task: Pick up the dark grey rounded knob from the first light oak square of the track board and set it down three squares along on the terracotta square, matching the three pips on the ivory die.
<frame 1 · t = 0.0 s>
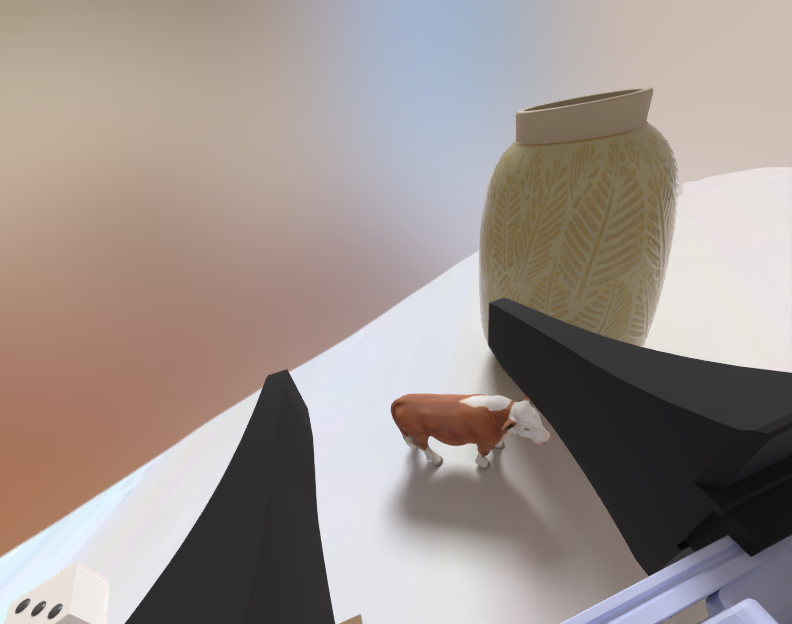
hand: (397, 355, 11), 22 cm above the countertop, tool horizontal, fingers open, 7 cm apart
bull figurine: (468, 454, 31), on the countertop
vase: (552, 354, 40), on the countertop
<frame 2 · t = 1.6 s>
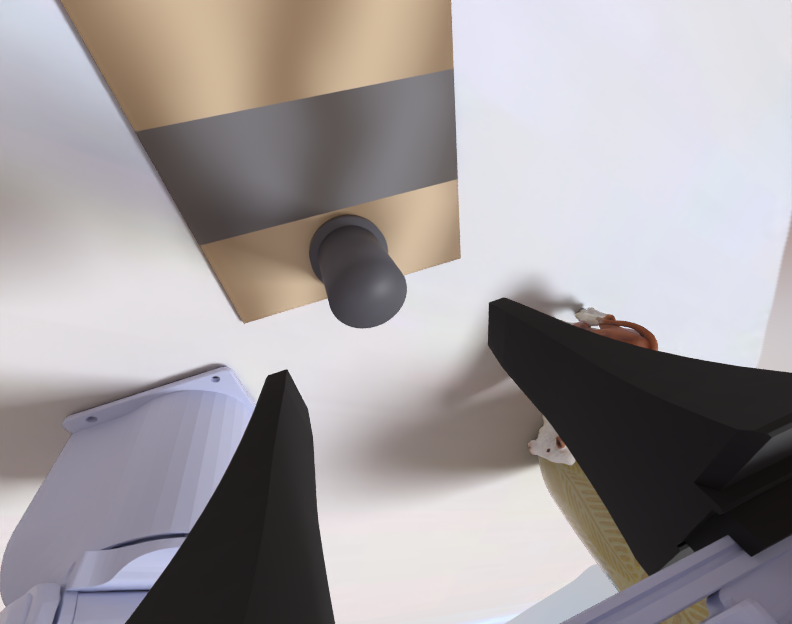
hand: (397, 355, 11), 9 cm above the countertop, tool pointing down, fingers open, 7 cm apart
bull figurine: (540, 351, 30), on the countertop
vase: (580, 421, 41), on the countertop
track board: (306, 97, 14), on the countertop
dark grey rounded knob: (348, 252, 18), resting on track board
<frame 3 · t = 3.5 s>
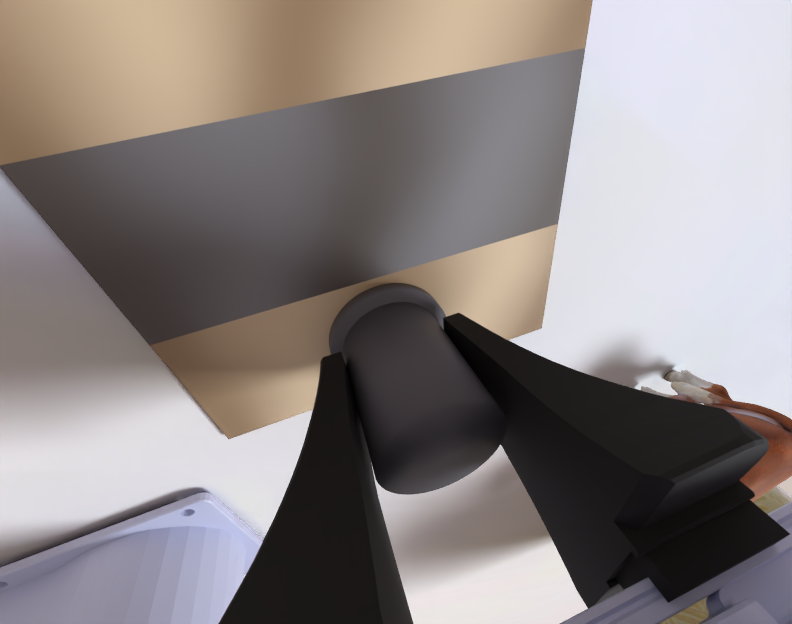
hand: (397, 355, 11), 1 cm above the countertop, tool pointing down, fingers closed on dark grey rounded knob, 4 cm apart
bull figurine: (611, 419, 24), on the countertop
vase: (636, 481, 34), on the countertop
track board: (333, 98, 8), on the countertop
dark grey rounded knob: (387, 334, 12), resting on track board, touching gripper
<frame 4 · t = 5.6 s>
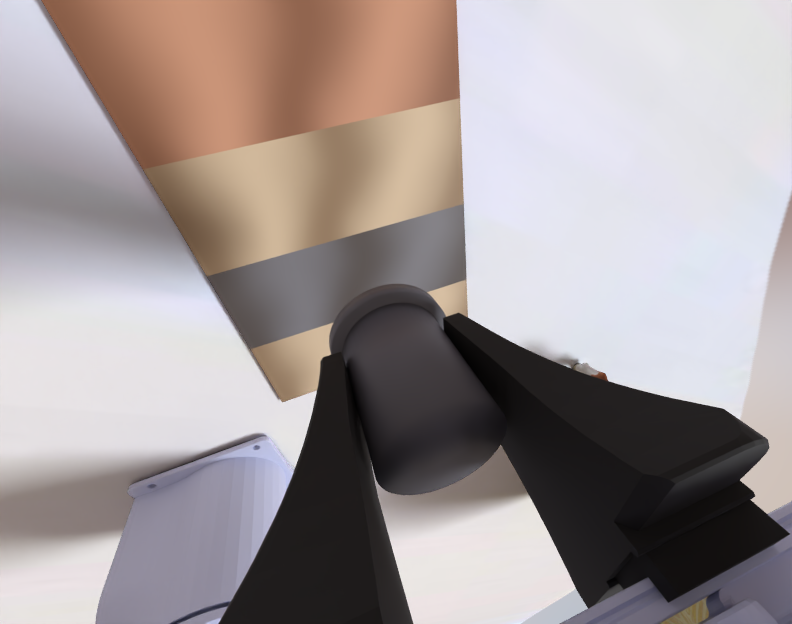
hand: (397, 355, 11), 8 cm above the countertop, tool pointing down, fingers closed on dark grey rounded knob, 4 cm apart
vase: (578, 452, 43), on the countertop
track board: (342, 236, 17), on the countertop
dark grey rounded knob: (388, 335, 12), point 7 cm above the countertop, touching gripper
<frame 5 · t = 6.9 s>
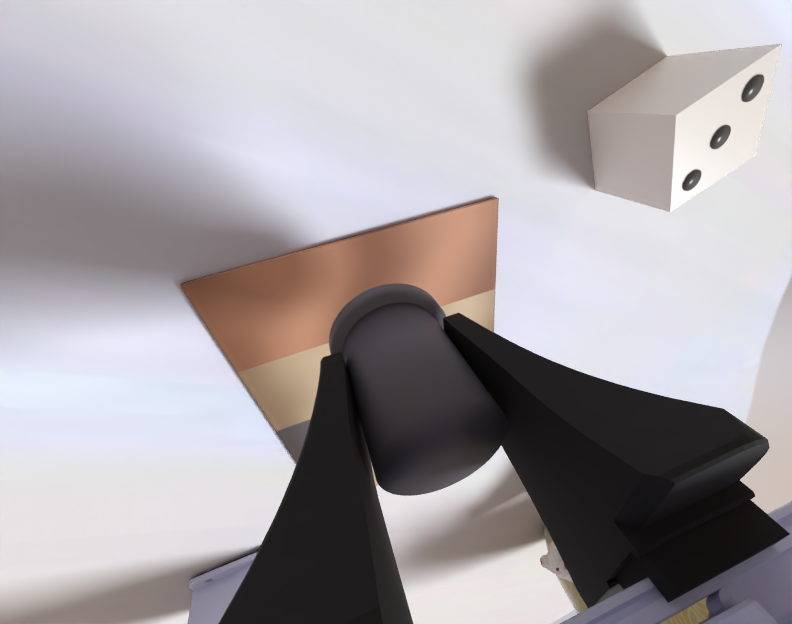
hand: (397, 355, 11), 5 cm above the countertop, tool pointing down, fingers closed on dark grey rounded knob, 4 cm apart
bull figurine: (549, 471, 36), on the countertop
vase: (582, 505, 46), on the countertop
track board: (389, 387, 20), on the countertop
die: (626, 129, 15), on the countertop
dark grey rounded knob: (388, 335, 12), point 4 cm above the countertop, touching gripper
when the fingers open (3 cm above the countertop, at t = 7.7 s): dark grey rounded knob drops 2 cm, resting on track board.
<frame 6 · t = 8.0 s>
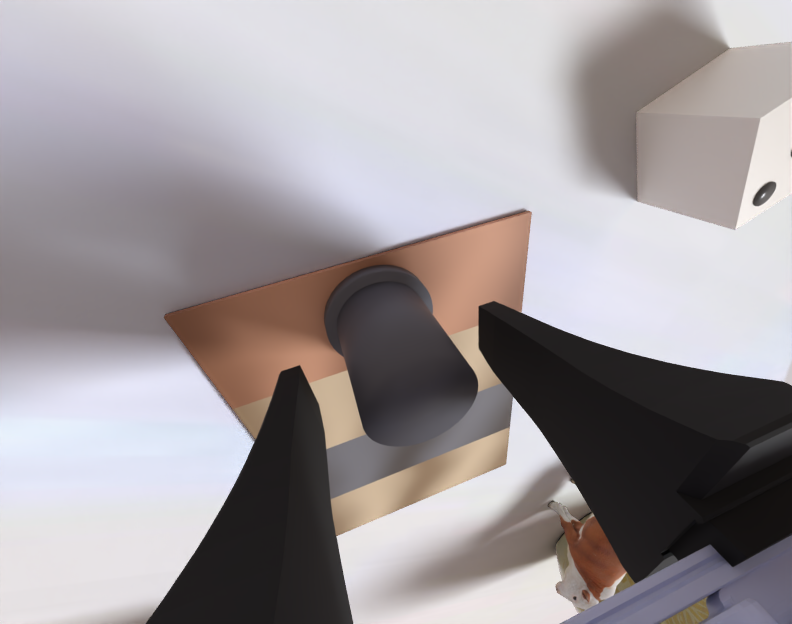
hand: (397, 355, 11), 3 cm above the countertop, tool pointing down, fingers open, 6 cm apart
bull figurine: (564, 491, 34), on the countertop
vase: (595, 521, 44), on the countertop
track board: (402, 417, 18), on the countertop
die: (677, 132, 13), on the countertop
dark grey rounded knob: (378, 313, 13), resting on track board
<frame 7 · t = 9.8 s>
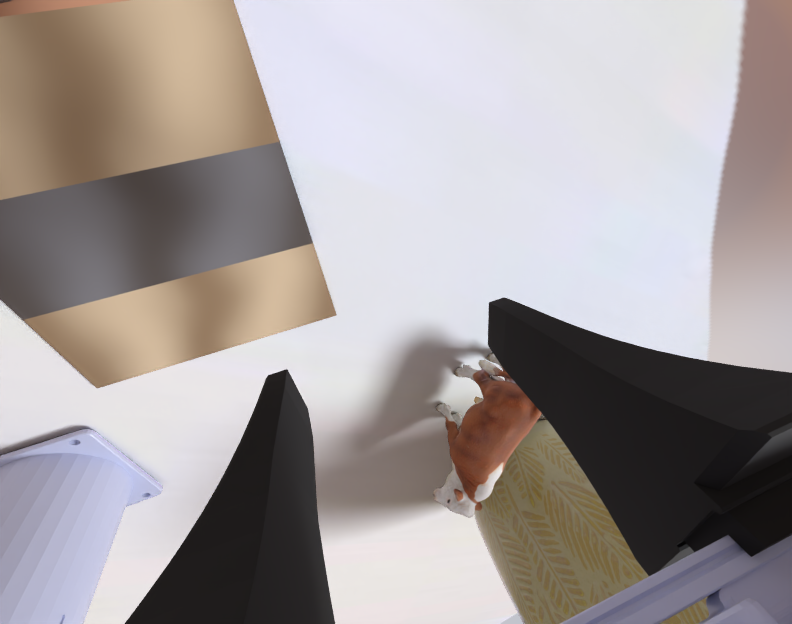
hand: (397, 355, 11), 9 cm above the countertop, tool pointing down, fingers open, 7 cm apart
bull figurine: (454, 393, 29), on the countertop
vase: (517, 453, 40), on the countertop
track board: (113, 175, 13), on the countertop
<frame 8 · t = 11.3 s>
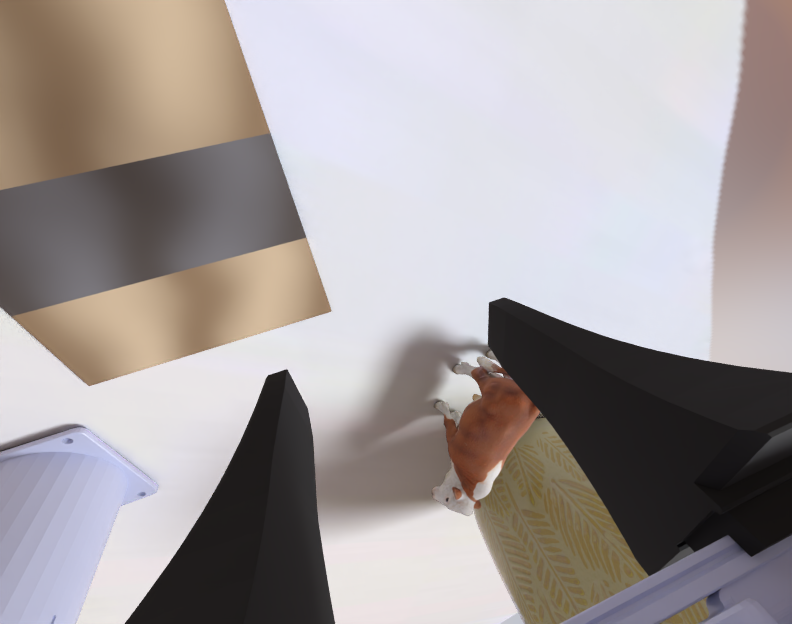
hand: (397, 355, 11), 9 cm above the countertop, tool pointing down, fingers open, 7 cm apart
bull figurine: (453, 390, 29), on the countertop
vase: (517, 451, 40), on the countertop
track board: (100, 168, 13), on the countertop
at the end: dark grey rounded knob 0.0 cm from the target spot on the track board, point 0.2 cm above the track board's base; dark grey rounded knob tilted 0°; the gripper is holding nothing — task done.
